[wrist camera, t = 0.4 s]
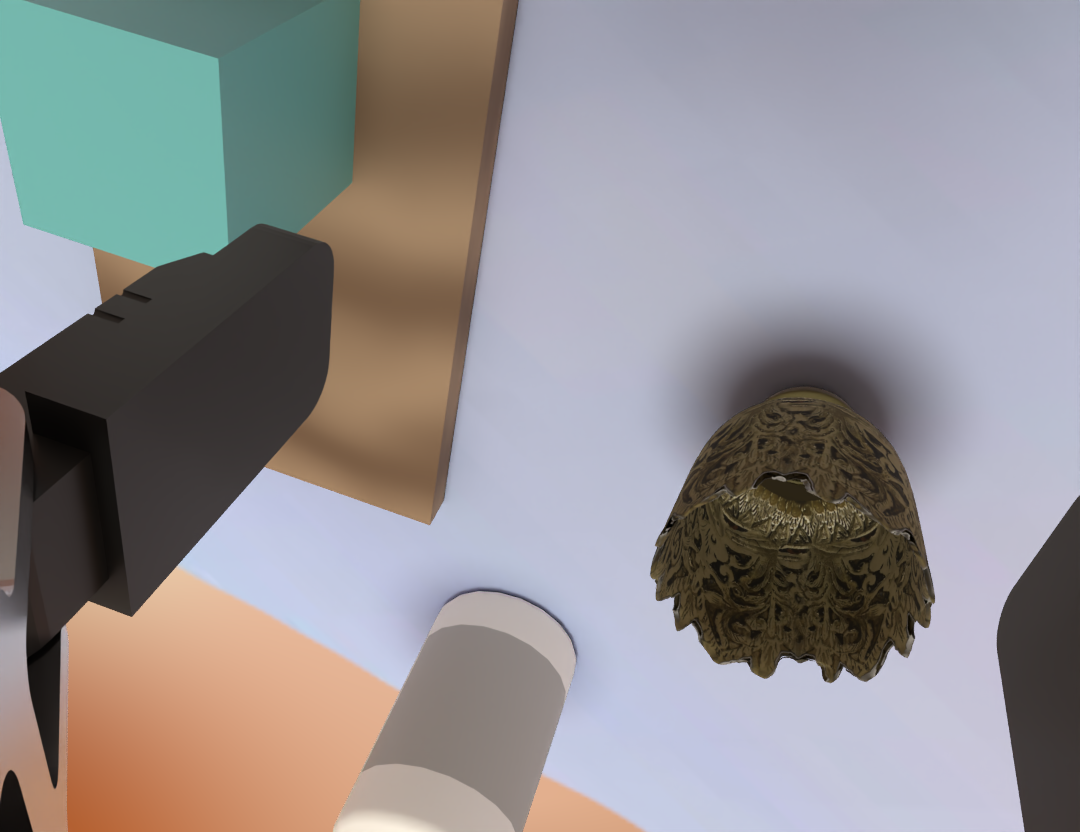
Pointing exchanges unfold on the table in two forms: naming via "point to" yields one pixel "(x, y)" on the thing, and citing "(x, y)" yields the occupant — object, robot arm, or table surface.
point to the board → (400, 252)
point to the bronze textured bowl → (797, 541)
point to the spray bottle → (468, 723)
